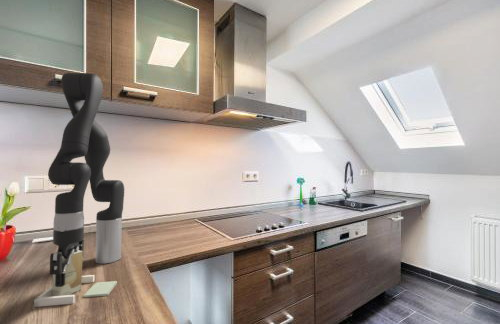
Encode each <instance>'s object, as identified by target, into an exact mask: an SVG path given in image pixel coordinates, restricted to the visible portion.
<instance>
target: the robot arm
mask: <svg viewBox="0 0 500 324" xmlns="http://www.w3.org/2000/svg"><path fill="white" fill-rule="evenodd" d="M60 79H61V81H60V83H61V88H62V91H63V94H64V98H65V100H66V103H67V106H68V107H69V110H70V112H71V113H70V114H71V116H72V118H71V119H70V120H69V122H67V124H66V126H65V127H64V130H63V134H62V138H61V143H60V148H59V149H58V152H57V154H56V156H55V157H54V159H53V160H52V162H51V164H50V166H49V168H48V173H47V174H48V175H47V176H48V179H49V182H51V183H52V184H53V185H56V186H71V185H72V186H73V188H72V190H70V191H65V192H61V193H59V194H57V195H56V196H55V200H54V202H55V203H54V204H55V205H54V218H53V229H52V230H53V231H52V235H53V236H52V243H53V244H54V245H55V246H57V250H56V251H57V252H54V253H50V256H49V275H50V276H53V275H54V274H55V275H56V276H55V286H56V287H62V286H64V285H65V271H66V268H67V266H68V265H69V264H70V261H71V257H72V255H73V254H74V251H78V250H80V251H83V252H84V248H85V247H84V245H85V244H84V242H85V240H84V238H85V237H84V236H85V235H84V233H85V231H84V229H85V216H84V215H85V214H84V202H85V201H84V199H85V194H86V191H87V187H88V184H89V183H90V184H89V186H90V192H91V194H92V198H93V199H94V201H96V202H99V203H109V204H108V206H109V207H107V208H105V209H103V210H100V211H97V213H96V223H95V227H96V230H95V259H94V260H95V262H94V263H96V264H103V265H104V264H109V263H114V262H117V261H119V260H120V259H122V236H123V235H122V232H123V231H122V229H123V228H122V226H123V225H122V224H123V223H122V222H123V210H124V200H125V199H124V198H125V186H124V183H123V181H122V180H117V179H105V176H104V167H105V165H106V162H107V160H108V159H109V156H110V154H111V145H110V141H109V136H108V134H107V132H106V130H105V129H104V128H103V127H102V126H101V125H100V123H98V122H97V121H96V120H95V118H96V115H97V113H98V111H99V108H100V104H101V101H102V98H103V95H104V85H103V81H102V80H101V78H100V76H99V75H97V74H95V73H92V72H91V73H89V72H65V73H64V74H62V75H61V78H60ZM82 157H84V160H85V162H72V161H73V160H75V159H78V158H82ZM63 257H64V258H65V259H67V261H65V262H62V258H63ZM62 265H63V268H62ZM54 266H56V267H55V270H54Z"/></svg>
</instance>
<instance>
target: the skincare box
mask: <svg viewBox="0 0 500 324" xmlns="http://www.w3.org/2000/svg"><path fill="white" fill-rule="evenodd" d="M83 257H84V250H83V251H80V250H78V251H74V254H73V255H72V257H71V261H70V264H69V265H68V266H67V268H66V271H65V285H64V286H62V287H56V286H55V276H56V275H55V274H54V275H52V282H51V283H52V285H51V286H52V295H51V297H52V296H63V295H73V294H74V293H76V292H78V291H81V290H82V283H81V282H82V276H83ZM65 261H67V259H65V258H64V257H63V258H62V262H65ZM55 267H56V266H54V270H55ZM62 268H63V265H62Z"/></svg>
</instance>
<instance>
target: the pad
mask: <svg viewBox="0 0 500 324" xmlns="http://www.w3.org/2000/svg"><path fill="white" fill-rule="evenodd" d="M117 284H118V281H117V280H113V281H101V282H98V281H97V282H94V284H93V285H92V286H91V287H90V288H89V289H88V290H87V291H86V292H85V293H84V295H83V298H93V297H104V296H106V297H107V296H109V295H110V293H111V292H112V290H113V289H114V288H115V286H116V285H117Z"/></svg>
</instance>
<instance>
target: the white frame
mask: <svg viewBox="0 0 500 324" xmlns="http://www.w3.org/2000/svg"><path fill="white" fill-rule="evenodd" d="M88 283H95V274H89V275H82V282H81V284H88ZM75 302H76V294H70V295H63V296H52V285H51V286H50V287H49V288H47V289H46V290H44V291H43V292H42V293H41V294H40V295H38V296H37V297H36V298H34V300H33V308H37V307H38V308H39V307H47V306H49V307H50V306H59V305H71V304H72V305H73V304H74V303H75Z"/></svg>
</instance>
